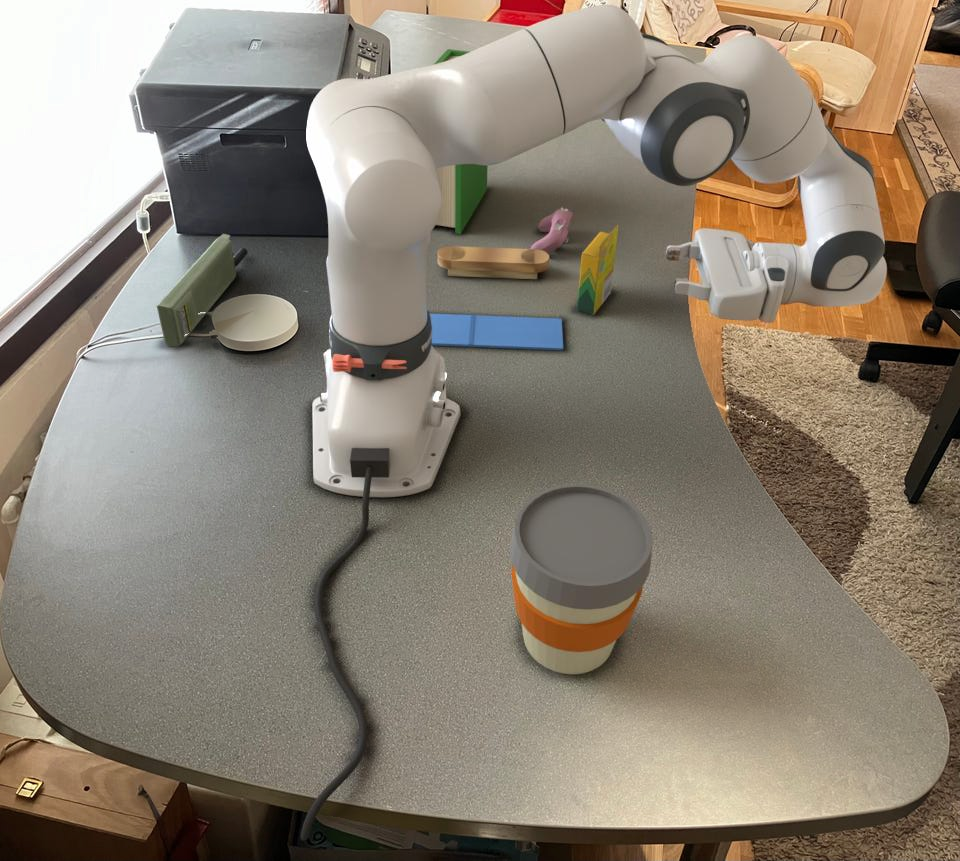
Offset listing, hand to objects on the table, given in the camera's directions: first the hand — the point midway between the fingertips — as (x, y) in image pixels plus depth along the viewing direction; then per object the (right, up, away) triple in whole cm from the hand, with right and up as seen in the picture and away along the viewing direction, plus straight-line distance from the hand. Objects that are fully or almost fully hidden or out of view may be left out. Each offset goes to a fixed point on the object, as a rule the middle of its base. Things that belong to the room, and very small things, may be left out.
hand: (670, 268), depth 127 cm
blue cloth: (-26, -10, -2) cm, 28 cm away
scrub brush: (-26, +2, +10) cm, 28 cm away
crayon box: (-11, -4, +4) cm, 12 cm away
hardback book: (-33, +16, +27) cm, 45 cm away
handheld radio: (-68, -4, +3) cm, 68 cm away
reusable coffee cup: (-19, -44, -42) cm, 63 cm away
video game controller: (-16, +7, +17) cm, 25 cm away
